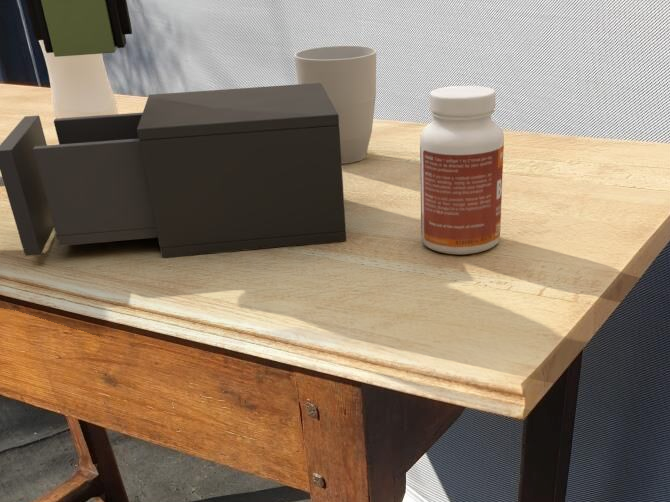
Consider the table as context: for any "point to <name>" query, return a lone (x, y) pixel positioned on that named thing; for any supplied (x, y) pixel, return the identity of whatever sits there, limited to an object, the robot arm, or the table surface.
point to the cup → (345, 91)
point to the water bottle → (79, 85)
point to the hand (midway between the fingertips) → (86, 45)
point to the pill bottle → (461, 171)
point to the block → (78, 27)
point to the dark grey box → (243, 168)
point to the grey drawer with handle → (77, 181)
